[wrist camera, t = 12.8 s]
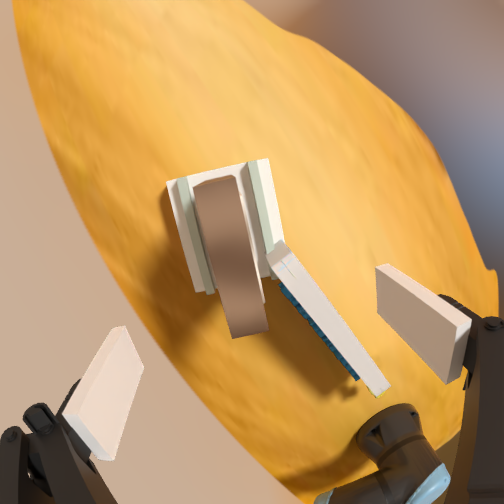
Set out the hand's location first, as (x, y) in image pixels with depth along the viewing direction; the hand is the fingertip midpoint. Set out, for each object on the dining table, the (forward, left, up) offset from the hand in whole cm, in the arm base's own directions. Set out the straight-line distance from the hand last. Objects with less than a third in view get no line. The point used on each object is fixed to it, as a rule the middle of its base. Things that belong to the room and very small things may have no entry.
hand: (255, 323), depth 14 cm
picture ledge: (+1, +1, -25) cm, 25 cm away
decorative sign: (-17, -10, -25) cm, 32 cm away
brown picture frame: (+1, +1, -22) cm, 22 cm away
